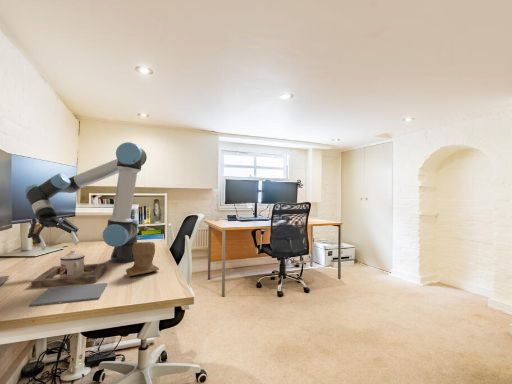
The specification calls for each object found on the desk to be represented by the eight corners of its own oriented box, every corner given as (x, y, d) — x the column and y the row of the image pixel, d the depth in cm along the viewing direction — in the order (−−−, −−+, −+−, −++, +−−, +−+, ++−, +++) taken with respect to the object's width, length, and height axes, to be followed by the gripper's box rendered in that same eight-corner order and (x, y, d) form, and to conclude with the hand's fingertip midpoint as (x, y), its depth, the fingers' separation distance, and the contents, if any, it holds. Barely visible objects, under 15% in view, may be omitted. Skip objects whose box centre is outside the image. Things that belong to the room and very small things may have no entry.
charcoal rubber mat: (107, 284, 107) (107, 282, 107) (98, 299, 92) (99, 297, 92) (48, 289, 100) (48, 287, 100) (29, 306, 85) (29, 304, 85)
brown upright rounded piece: (149, 267, 133) (150, 238, 133) (162, 272, 125) (163, 241, 125) (119, 273, 121) (120, 241, 121) (130, 279, 114) (131, 245, 114)
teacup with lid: (56, 276, 115) (57, 250, 116) (80, 272, 123) (80, 247, 123) (65, 282, 108) (66, 254, 108) (89, 277, 115) (90, 251, 115)
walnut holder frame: (105, 268, 129) (106, 263, 129) (95, 282, 109) (95, 276, 109) (52, 271, 122) (53, 266, 122) (31, 287, 101) (31, 281, 101)
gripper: (68, 215, 137) (85, 246, 131) (8, 218, 115) (24, 256, 108) (75, 205, 135) (92, 236, 129) (14, 207, 112) (32, 245, 106)
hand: (61, 245), depth 118 cm, fingers open, 13 cm apart
